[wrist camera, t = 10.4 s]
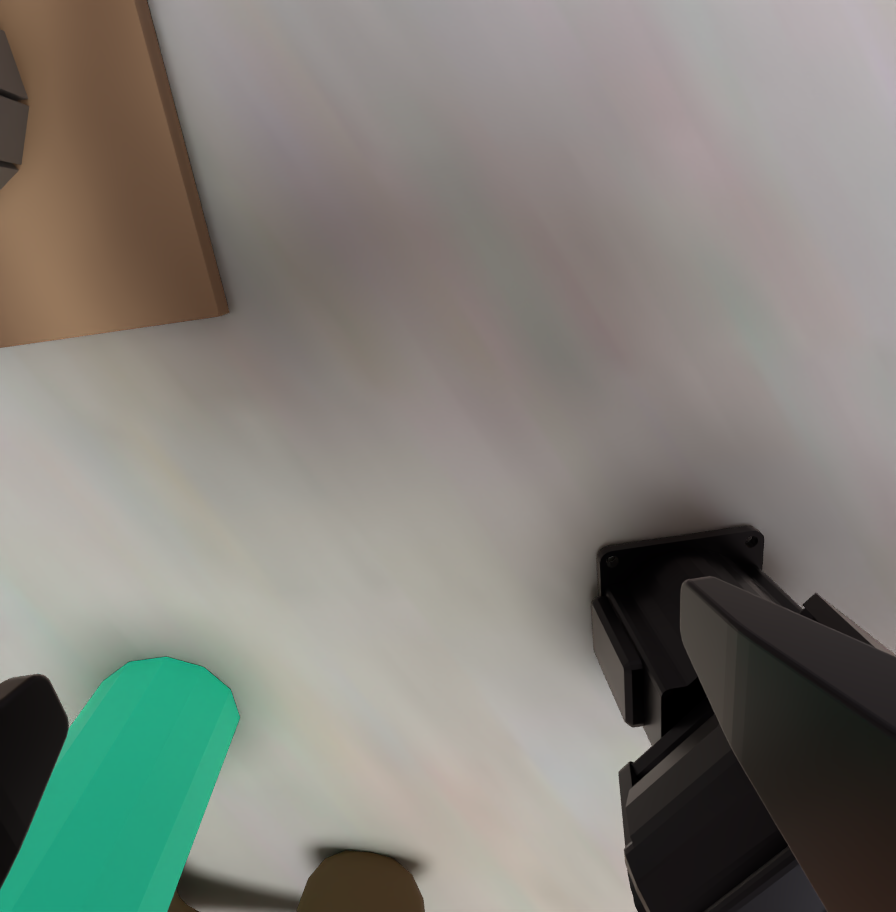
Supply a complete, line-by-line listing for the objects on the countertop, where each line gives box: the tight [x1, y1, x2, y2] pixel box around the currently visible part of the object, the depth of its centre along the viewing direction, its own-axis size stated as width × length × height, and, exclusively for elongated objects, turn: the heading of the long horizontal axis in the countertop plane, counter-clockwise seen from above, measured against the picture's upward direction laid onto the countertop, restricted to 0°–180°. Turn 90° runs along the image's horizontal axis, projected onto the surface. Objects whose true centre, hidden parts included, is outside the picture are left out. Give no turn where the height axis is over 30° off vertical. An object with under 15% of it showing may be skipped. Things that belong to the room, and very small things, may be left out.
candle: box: [0, 657, 240, 912], centre depth 19 cm, size 6×6×12 cm
